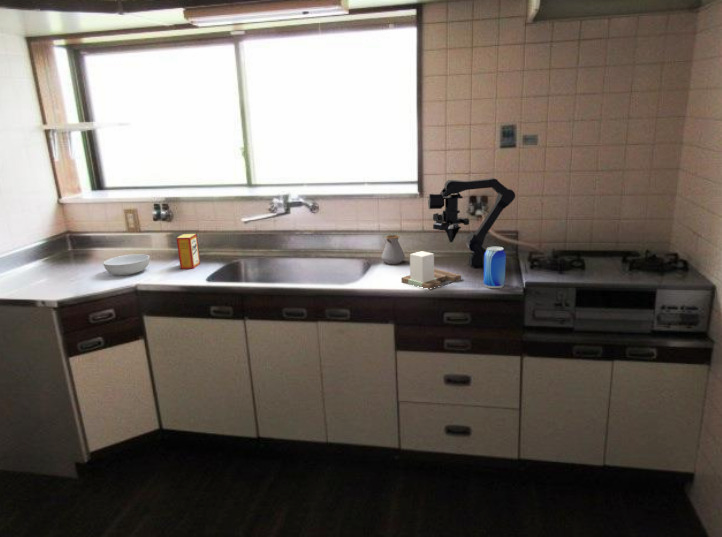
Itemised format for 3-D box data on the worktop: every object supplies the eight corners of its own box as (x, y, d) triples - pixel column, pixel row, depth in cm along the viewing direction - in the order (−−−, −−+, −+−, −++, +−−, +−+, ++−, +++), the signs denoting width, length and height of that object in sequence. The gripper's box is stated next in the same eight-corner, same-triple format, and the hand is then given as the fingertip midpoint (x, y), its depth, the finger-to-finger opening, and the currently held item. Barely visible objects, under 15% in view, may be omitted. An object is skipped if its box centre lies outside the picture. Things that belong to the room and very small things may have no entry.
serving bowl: (127, 266, 273) (125, 252, 271) (160, 268, 266) (158, 254, 264) (95, 277, 254) (92, 263, 252) (130, 280, 247) (128, 265, 245)
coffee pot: (383, 259, 266) (382, 229, 262) (406, 259, 264) (406, 229, 260) (375, 270, 246) (374, 239, 242) (400, 271, 244) (400, 239, 240)
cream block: (421, 275, 228) (421, 251, 225) (434, 279, 223) (433, 253, 220) (410, 279, 224) (410, 254, 221) (422, 282, 219) (422, 256, 216)
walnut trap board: (433, 272, 240) (433, 268, 239) (461, 279, 228) (461, 275, 227) (401, 282, 227) (401, 277, 227) (429, 290, 215) (429, 285, 215)
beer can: (492, 282, 223) (493, 244, 218) (508, 286, 216) (510, 248, 212) (479, 286, 218) (480, 248, 213) (495, 290, 211) (497, 251, 207)
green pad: (422, 279, 230) (422, 275, 229) (436, 283, 224) (436, 278, 223) (408, 284, 224) (408, 279, 224) (422, 288, 218) (422, 283, 218)
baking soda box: (187, 264, 271) (183, 233, 267) (200, 263, 271) (196, 233, 267) (180, 269, 262) (176, 237, 258) (193, 268, 262) (189, 237, 258)
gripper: (451, 204, 251) (451, 236, 255) (424, 209, 240) (424, 243, 244) (470, 206, 243) (469, 239, 247) (442, 211, 231) (442, 246, 236)
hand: (451, 242), depth 244 cm, fingers closed
